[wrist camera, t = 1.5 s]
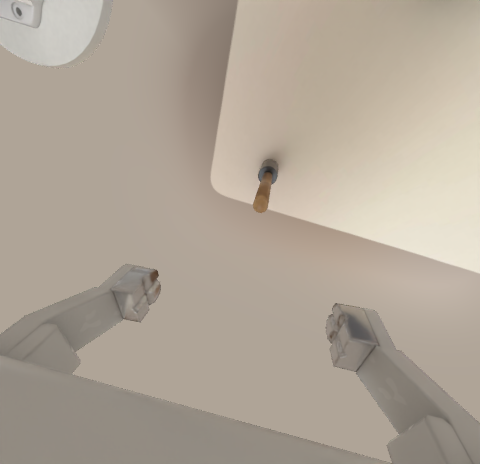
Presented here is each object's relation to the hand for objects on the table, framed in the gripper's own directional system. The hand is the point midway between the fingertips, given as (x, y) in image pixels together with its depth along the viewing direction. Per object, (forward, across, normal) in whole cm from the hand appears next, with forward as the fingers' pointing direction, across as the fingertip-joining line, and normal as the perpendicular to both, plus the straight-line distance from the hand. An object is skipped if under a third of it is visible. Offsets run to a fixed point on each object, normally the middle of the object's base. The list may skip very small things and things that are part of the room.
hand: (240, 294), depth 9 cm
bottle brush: (+29, 0, 0) cm, 29 cm away
